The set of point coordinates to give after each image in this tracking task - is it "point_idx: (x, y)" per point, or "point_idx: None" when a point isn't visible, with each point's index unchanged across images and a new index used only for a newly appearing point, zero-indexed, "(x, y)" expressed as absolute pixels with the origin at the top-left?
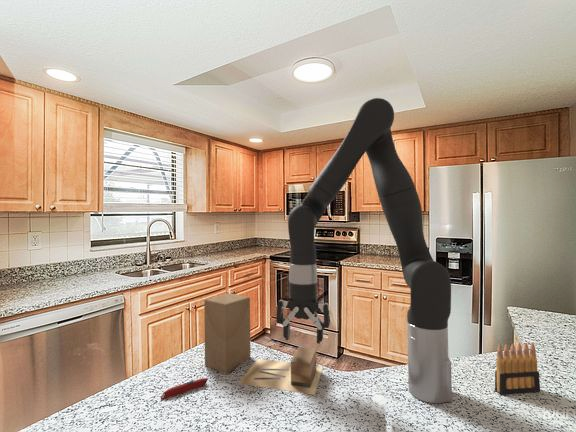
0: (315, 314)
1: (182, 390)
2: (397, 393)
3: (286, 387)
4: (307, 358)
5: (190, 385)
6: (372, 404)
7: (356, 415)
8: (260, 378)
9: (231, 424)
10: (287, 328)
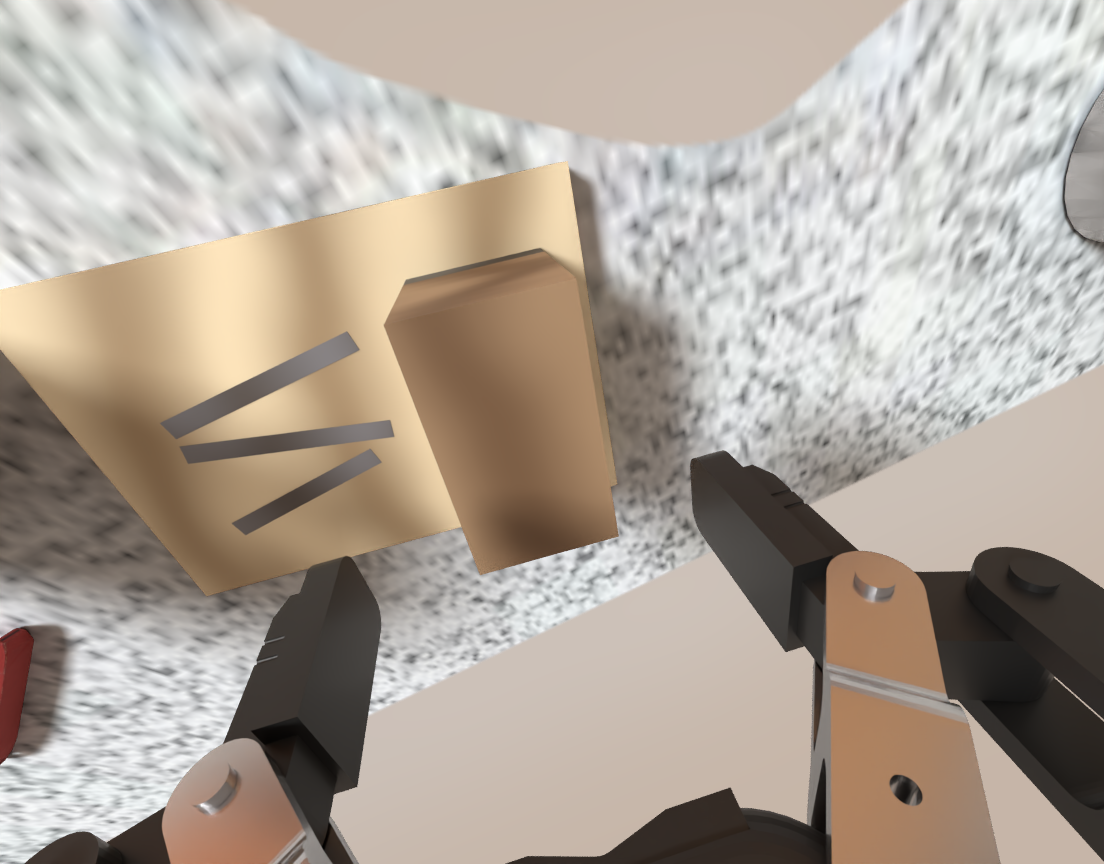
0: (932, 819)
1: (11, 716)
2: (993, 218)
3: None
4: (573, 485)
5: (5, 704)
6: (853, 371)
7: (784, 465)
8: (271, 511)
9: (395, 691)
10: (355, 764)
